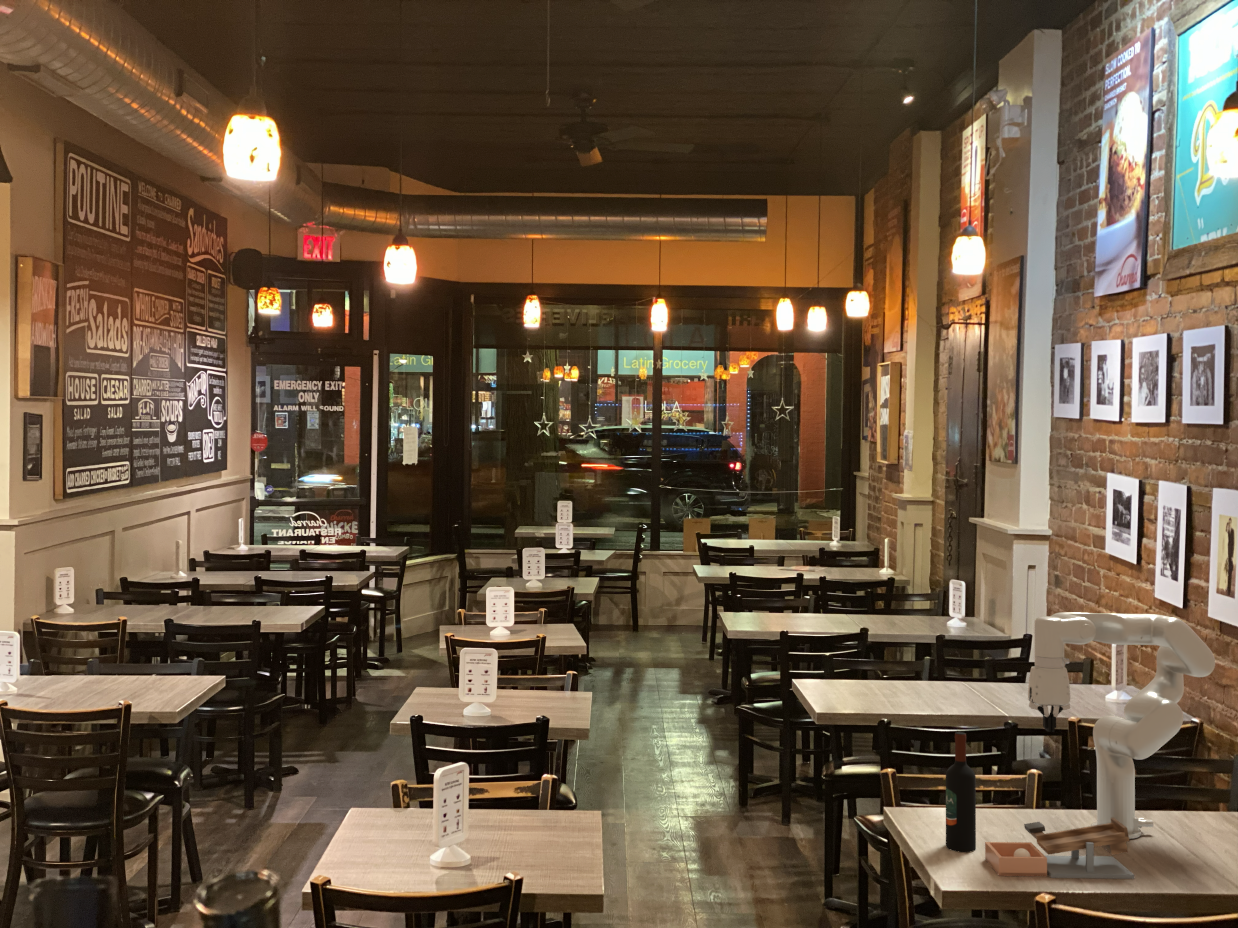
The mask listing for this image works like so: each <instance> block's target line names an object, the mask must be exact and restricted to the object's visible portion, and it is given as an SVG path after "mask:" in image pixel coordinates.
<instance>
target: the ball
mask: <svg viewBox="0 0 1238 928" xmlns="http://www.w3.org/2000/svg"><path fill="white" fill-rule="evenodd" d="M1014 857H1031V856H1030V853H1029V852H1028V851H1027V850H1026V849H1023V848H1019V849H1017V850H1016V851H1015V852H1014Z"/></svg>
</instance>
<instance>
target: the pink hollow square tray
mask: <svg viewBox="0 0 1238 928" xmlns="http://www.w3.org/2000/svg"><path fill="white" fill-rule="evenodd" d="M984 844H985V845H984V846H985V847H984V849H985V850H984V856H985V857H984V858H985V859H984V860H985V861H986V862H987V863H988V864H989V866H990V867H991V868H992V869H993V870H994V871H995V873H996V874H997V876H999V877H1042V878H1043V877H1048V874H1047V858H1046V857H1045V856H1044V853H1042V851H1040V849H1038V848H1037V846H1035V845H1034V844H1033V843H1032V842H1028V841H1026V842H1024V841H1022V842H1019V841H1018V842H1017V841H1014V842H1013V841H984ZM1019 848H1023V849H1026V850H1027V851H1028V852H1029V853H1030V856H1031V857H1014V852H1015V851H1016V850H1017V849H1019Z"/></svg>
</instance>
